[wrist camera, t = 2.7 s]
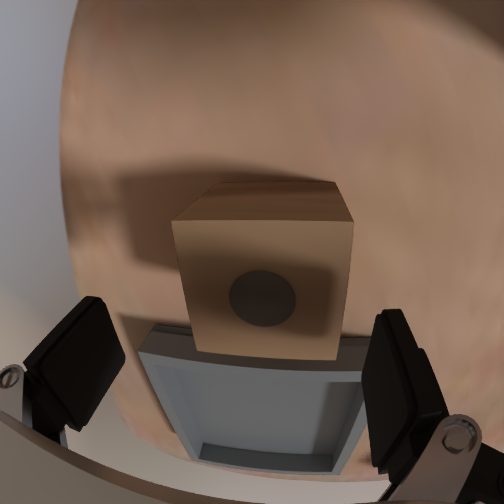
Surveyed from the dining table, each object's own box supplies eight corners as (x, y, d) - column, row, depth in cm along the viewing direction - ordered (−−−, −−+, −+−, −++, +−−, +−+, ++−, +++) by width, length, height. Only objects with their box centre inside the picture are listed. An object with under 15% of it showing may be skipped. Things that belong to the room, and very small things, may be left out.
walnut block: (218, 182, 15) (169, 221, 10) (335, 182, 14) (354, 222, 9) (228, 281, 18) (196, 351, 12) (329, 285, 16) (336, 361, 11)
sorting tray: (155, 324, 20) (137, 351, 18) (382, 337, 17) (389, 370, 15) (198, 439, 28) (191, 460, 25) (339, 452, 25) (339, 474, 22)
